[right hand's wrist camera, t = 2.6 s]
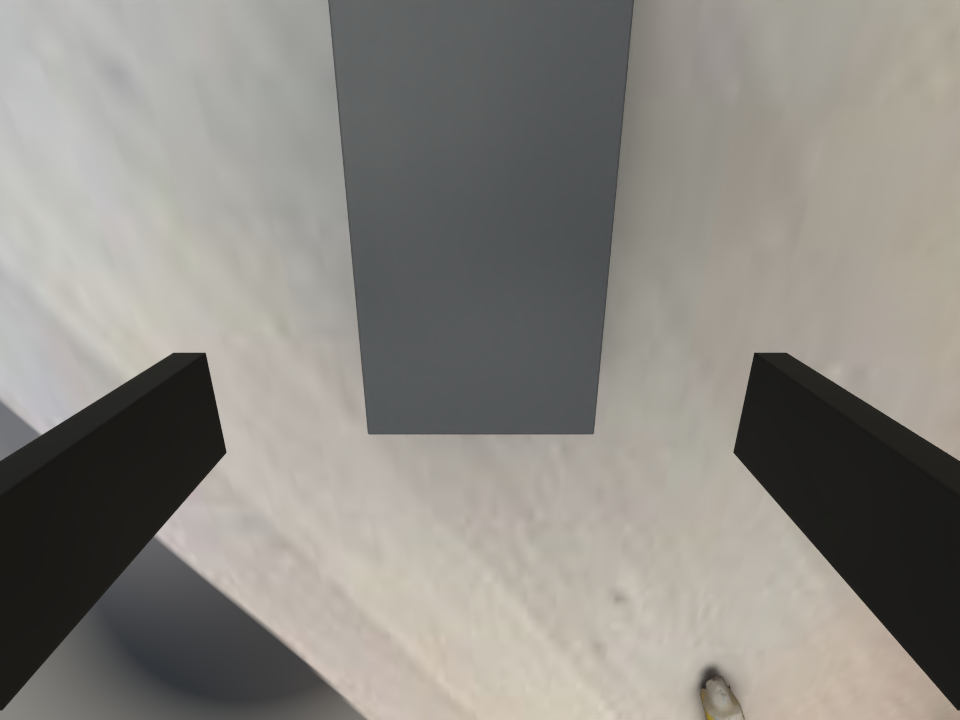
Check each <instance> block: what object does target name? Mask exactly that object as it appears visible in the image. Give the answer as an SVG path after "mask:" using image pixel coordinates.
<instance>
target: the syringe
mask: <svg viewBox="0 0 960 720" xmlns="http://www.w3.org/2000/svg"><path fill="white" fill-rule="evenodd" d="M701 699H702V703H703V707H704V710H705V714H706V719H707V720H745V718H744V715H743V712H742V709H741V705H740V704H739V702H738V700H737V699H736V698H735V696H734V695H733V693H732V691H731V689H730V686H729V687H728V686H727V685H726V684H725V681H724V679H723V677H721V676H715V677H713V678H711V679H710V680H708V681H707V682H706V689H704V688H702V689H701Z"/></svg>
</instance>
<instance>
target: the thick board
mask: <svg viewBox="0 0 960 720" xmlns="http://www.w3.org/2000/svg"><path fill="white" fill-rule="evenodd" d="M328 2H329V13H330V24H331V35H332V45H333V56H334V67H335V78H336V89H337V100H338V111H339V122H340V133H341V144H342V155H343V166H344V177H345V187H346V198H347V209H348V220H349V231H350V242H351V253H352V264H353V275H354V286H355V297H356V308H357V319H358V330H359V340H360V351H361V362H362V373H363V384H364V395H365V406H366V417H367V428H368V434H593V433H594V425H595V414H596V404H597V393H598V382H599V371H600V360H601V350H602V339H603V328H604V317H605V306H606V295H607V285H608V274H609V263H610V252H611V241H612V230H613V220H614V209H615V198H616V187H617V176H618V166H619V155H620V144H621V133H622V122H623V111H624V101H625V90H626V79H627V68H628V57H629V46H630V36H631V25H632V14H633V3H634V0H328Z"/></svg>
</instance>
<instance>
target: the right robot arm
mask: <svg viewBox="0 0 960 720" xmlns="http://www.w3.org/2000/svg"><path fill="white" fill-rule="evenodd" d="M225 454H226V448H225V443H224V438H223V434H222V429H221V424H220V419H219V414H218V410H217V405H216V400H215V395H214V391H213V386H212V381H211V376H210V372H209V367H208V362H207V357H206V353H173V354H171V355H169V356H168V357H166V358H165V359H163V360H161V361H160V362H158V363H157V364H155V365H153V366H152V367H150V368H149V369H147V370H145V371H144V372H142V373H141V374H139V375H137V376H136V377H134V378H133V379H131V380H129V381H128V382H126V383H125V384H123V385H121V386H120V387H118V388H117V389H115V390H113V391H112V392H110V393H109V394H107V395H105V396H104V397H102V398H101V399H99V400H97V401H96V402H94V403H93V404H91V405H89V406H88V407H86V408H85V409H83V410H81V411H80V412H78V413H77V414H75V415H73V416H72V417H70V418H69V419H67V420H65V421H64V422H62V423H61V424H59V425H57V426H56V427H54V428H53V429H51V430H49V431H48V432H46V433H45V434H43V435H41V436H40V437H38V438H37V439H35V440H33V441H32V442H30V443H29V444H27V445H25V446H24V447H22V448H21V449H19V450H17V451H16V452H14V453H13V454H11V455H9V456H8V457H6V458H5V459H3V460H1V461H0V710H3V709H4V708H5V707H6V705H7V704H8V703H9V702H10V701H11V700H12V699H13V697H14V696H15V695H16V694H17V693H18V692H19V691H20V689H21V688H22V687H23V686H24V685H25V684H26V682H27V681H28V680H29V679H30V678H31V677H32V676H33V674H34V673H35V672H36V671H37V670H38V669H39V668H40V666H41V665H42V664H43V663H44V662H45V661H46V659H47V658H48V657H49V656H50V655H51V654H52V653H53V651H54V650H55V649H56V648H57V647H58V646H59V645H60V643H61V642H62V641H63V640H64V639H65V638H66V636H67V635H68V634H69V633H70V632H71V631H72V630H73V628H74V627H75V626H76V625H77V624H78V623H79V622H80V620H81V619H82V618H83V617H84V616H85V615H86V613H87V612H88V611H89V610H90V609H91V608H92V607H93V605H94V604H95V603H96V602H97V601H98V600H99V599H100V597H101V596H102V595H103V594H104V593H105V592H106V590H107V589H108V588H109V587H110V586H111V585H112V584H113V582H114V581H115V580H116V579H117V578H118V577H119V576H120V574H121V573H122V572H123V571H124V570H125V569H126V567H127V566H128V565H129V564H130V563H131V562H132V561H133V559H134V558H135V557H136V556H137V555H138V554H139V553H140V551H141V550H142V549H143V548H144V547H145V546H146V544H147V543H148V542H149V541H150V540H151V539H152V538H153V536H154V535H155V534H156V533H157V532H158V531H159V530H160V528H161V527H162V526H163V525H164V524H165V523H166V522H167V520H168V519H169V518H170V517H171V516H172V515H173V513H174V512H175V511H176V510H177V509H178V508H179V507H180V505H181V504H182V503H183V502H184V501H185V500H186V499H187V497H188V496H189V495H190V494H191V493H192V492H193V491H194V489H195V488H196V487H197V486H198V485H199V484H200V482H201V481H202V480H203V479H204V478H205V477H206V476H207V474H208V473H209V472H210V471H211V470H212V469H213V468H214V466H215V465H216V464H217V463H218V462H219V461H220V459H221V458H222V457H223V456H224V455H225ZM734 454H735V455H736V456H737V457H738V458H739V459H740V461H741V462H742V463H743V464H744V465H745V466H746V468H747V469H748V470H749V471H750V472H751V473H752V474H753V476H754V477H755V478H756V479H757V480H758V481H759V482H760V484H761V485H762V486H763V487H764V488H765V489H766V491H767V492H768V493H769V494H770V495H771V496H772V497H773V499H774V500H775V501H776V502H777V503H778V504H779V505H780V507H781V508H782V509H783V510H784V511H785V512H786V513H787V515H788V516H789V517H790V518H791V519H792V520H793V522H794V523H795V524H796V525H797V526H798V527H799V528H800V530H801V531H802V532H803V533H804V534H805V535H806V536H807V538H808V539H809V540H810V541H811V542H812V543H813V545H814V546H815V547H816V548H817V549H818V550H819V551H820V553H821V554H822V555H823V556H824V557H825V558H826V559H827V561H828V562H829V563H830V564H831V565H832V566H833V568H834V569H835V570H836V571H837V572H838V573H839V574H840V576H841V577H842V578H843V579H844V580H845V581H846V582H847V584H848V585H849V586H850V587H851V588H852V589H853V591H854V592H855V593H856V594H857V595H858V596H859V597H860V599H861V600H862V601H863V602H864V603H865V604H866V605H867V607H868V608H869V609H870V610H871V611H872V612H873V613H874V615H875V616H876V617H877V618H878V619H879V620H880V622H881V623H882V624H883V625H884V626H885V627H886V628H887V630H888V631H889V632H890V633H891V634H892V635H893V636H894V638H895V639H896V640H897V641H898V642H899V643H900V645H901V646H902V647H903V648H904V649H905V650H906V651H907V653H908V654H909V655H910V656H911V657H912V658H913V659H914V661H915V662H916V663H917V664H918V665H919V666H920V668H921V669H922V670H923V671H924V672H925V673H926V674H927V676H928V677H929V678H930V679H931V680H932V681H933V682H934V684H935V685H936V686H937V687H938V688H939V689H940V691H941V692H942V693H943V694H944V695H945V696H946V697H947V699H948V700H949V701H950V702H951V703H952V704H953V705H954V707H955V708H956V709H957V710H960V461H959V460H957V459H955V458H954V457H952V456H951V455H949V454H947V453H946V452H944V451H943V450H941V449H939V448H938V447H936V446H935V445H933V444H931V443H930V442H928V441H927V440H925V439H923V438H922V437H920V436H919V435H917V434H915V433H914V432H912V431H911V430H909V429H907V428H906V427H904V426H903V425H901V424H899V423H898V422H896V421H895V420H893V419H891V418H890V417H888V416H887V415H885V414H883V413H882V412H880V411H879V410H877V409H875V408H874V407H872V406H871V405H869V404H867V403H866V402H864V401H863V400H861V399H859V398H858V397H856V396H855V395H853V394H851V393H850V392H848V391H847V390H845V389H843V388H842V387H840V386H839V385H837V384H835V383H834V382H832V381H831V380H829V379H827V378H826V377H824V376H823V375H821V374H819V373H818V372H816V371H815V370H813V369H811V368H810V367H808V366H807V365H805V364H803V363H802V362H800V361H799V360H797V359H795V358H794V357H792V356H791V355H789V354H787V353H754V357H753V362H752V367H751V372H750V376H749V381H748V386H747V391H746V395H745V400H744V405H743V410H742V414H741V419H740V424H739V429H738V433H737V438H736V443H735V448H734Z"/></svg>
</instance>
